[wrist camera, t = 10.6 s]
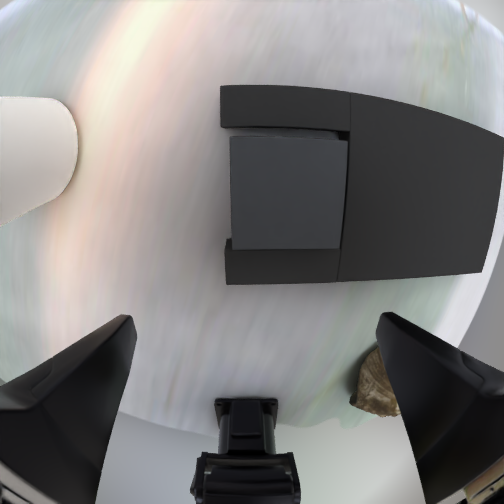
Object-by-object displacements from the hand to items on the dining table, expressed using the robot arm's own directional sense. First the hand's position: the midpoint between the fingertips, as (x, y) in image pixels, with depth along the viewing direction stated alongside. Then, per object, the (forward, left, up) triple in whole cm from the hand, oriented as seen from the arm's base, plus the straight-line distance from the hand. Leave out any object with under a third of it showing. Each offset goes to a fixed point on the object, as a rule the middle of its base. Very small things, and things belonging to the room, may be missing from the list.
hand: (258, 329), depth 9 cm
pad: (+3, -2, -10) cm, 11 cm away
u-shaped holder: (+3, -9, -10) cm, 14 cm away
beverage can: (+7, +16, -10) cm, 20 cm away
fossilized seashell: (-15, -13, -10) cm, 22 cm away
